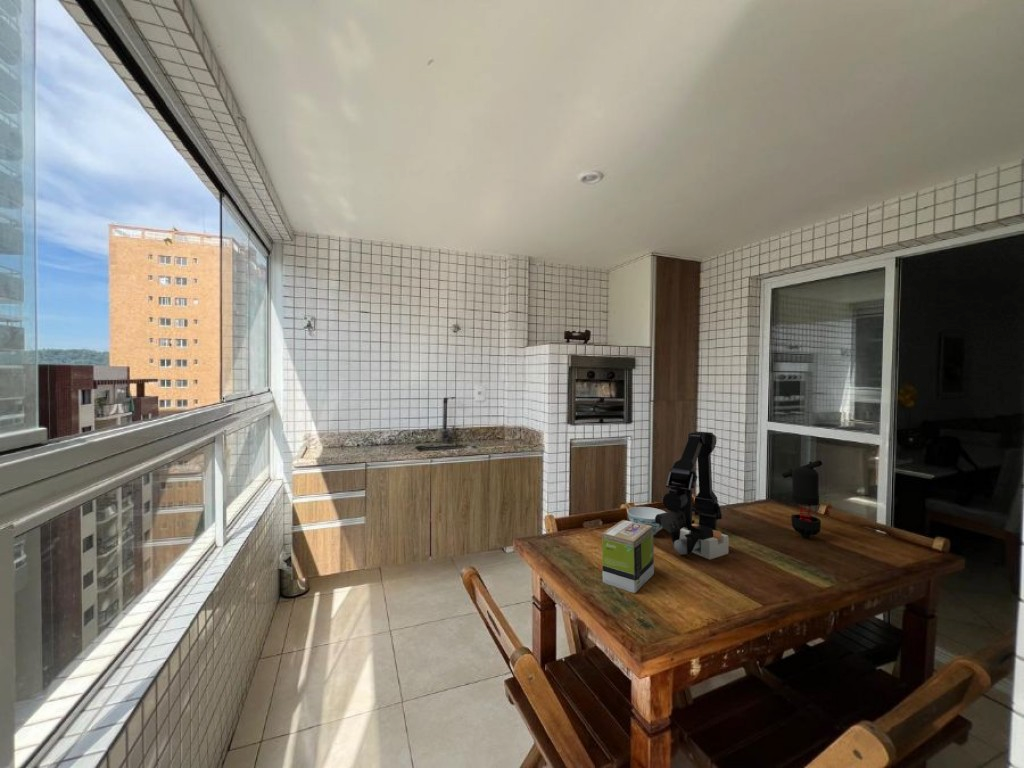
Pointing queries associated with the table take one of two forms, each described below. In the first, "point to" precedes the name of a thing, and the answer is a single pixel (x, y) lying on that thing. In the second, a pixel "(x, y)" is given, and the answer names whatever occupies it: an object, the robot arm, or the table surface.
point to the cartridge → (684, 546)
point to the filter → (805, 497)
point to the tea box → (627, 555)
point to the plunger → (717, 534)
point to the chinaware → (645, 517)
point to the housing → (710, 546)
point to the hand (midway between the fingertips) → (682, 551)
